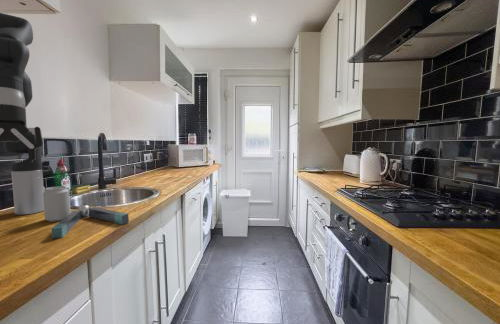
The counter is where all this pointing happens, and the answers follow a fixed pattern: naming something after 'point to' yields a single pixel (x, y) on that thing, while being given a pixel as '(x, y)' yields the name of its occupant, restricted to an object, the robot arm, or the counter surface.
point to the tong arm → (109, 215)
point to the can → (56, 203)
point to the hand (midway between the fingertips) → (10, 163)
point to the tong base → (69, 222)
